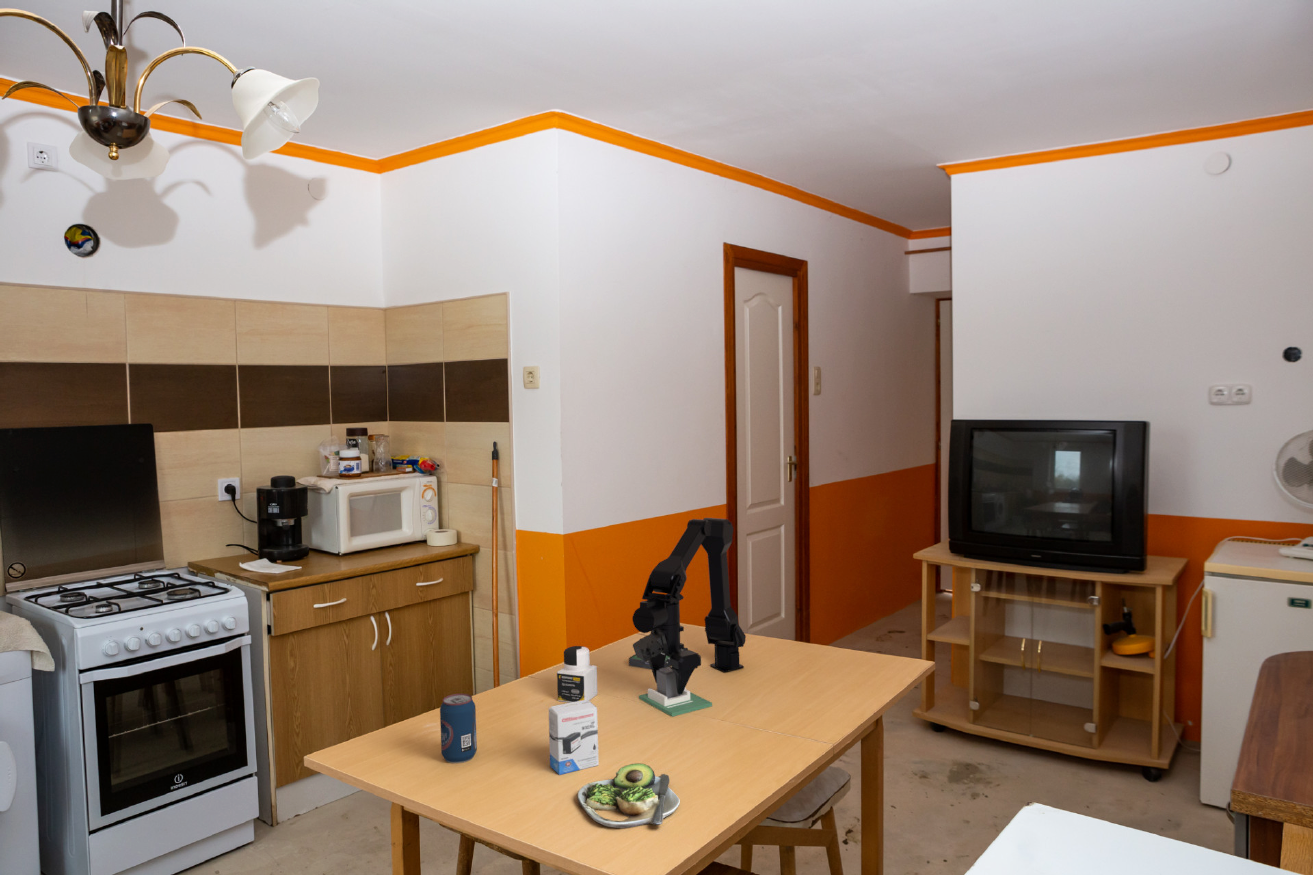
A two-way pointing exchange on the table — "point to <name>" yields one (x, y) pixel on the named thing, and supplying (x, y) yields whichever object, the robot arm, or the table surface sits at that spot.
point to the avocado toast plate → (630, 797)
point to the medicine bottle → (577, 676)
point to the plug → (666, 682)
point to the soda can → (458, 728)
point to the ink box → (573, 736)
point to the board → (675, 702)
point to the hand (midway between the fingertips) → (668, 688)
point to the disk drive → (645, 664)
